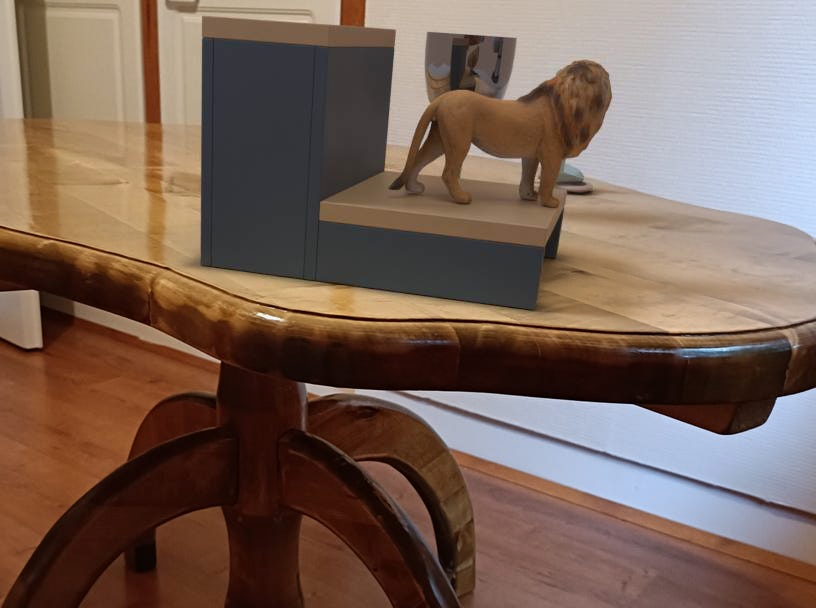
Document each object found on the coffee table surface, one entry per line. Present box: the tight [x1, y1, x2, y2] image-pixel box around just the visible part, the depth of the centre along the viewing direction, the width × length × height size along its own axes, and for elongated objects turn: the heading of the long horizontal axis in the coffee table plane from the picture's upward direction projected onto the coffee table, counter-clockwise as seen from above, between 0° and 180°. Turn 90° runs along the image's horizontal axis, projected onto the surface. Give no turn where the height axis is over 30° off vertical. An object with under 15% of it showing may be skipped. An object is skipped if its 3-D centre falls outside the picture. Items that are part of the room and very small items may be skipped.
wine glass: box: [423, 31, 518, 179], centre depth 87 cm, size 8×8×15 cm
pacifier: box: [537, 158, 594, 193], centre depth 105 cm, size 7×6×6 cm
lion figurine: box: [388, 59, 613, 208], centre depth 62 cm, size 15×5×9 cm, turn 106°
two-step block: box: [200, 15, 568, 311], centre depth 65 cm, size 22×17×15 cm
